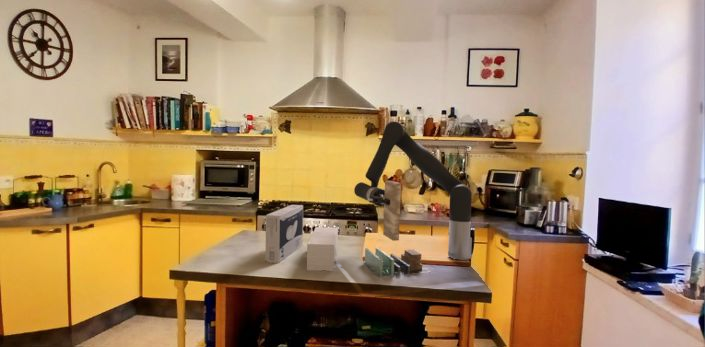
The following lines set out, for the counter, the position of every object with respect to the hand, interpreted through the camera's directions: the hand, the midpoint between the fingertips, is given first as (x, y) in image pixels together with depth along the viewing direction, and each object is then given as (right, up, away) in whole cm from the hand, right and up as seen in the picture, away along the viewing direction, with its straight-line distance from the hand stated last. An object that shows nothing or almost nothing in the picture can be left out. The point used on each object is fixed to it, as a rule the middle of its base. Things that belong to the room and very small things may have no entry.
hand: (392, 202), depth 145 cm
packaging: (-47, -25, +26) cm, 59 cm away
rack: (+2, -28, +4) cm, 28 cm away
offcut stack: (+8, -26, +5) cm, 28 cm away
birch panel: (-1, -14, +2) cm, 14 cm away
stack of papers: (-28, -26, +18) cm, 43 cm away
